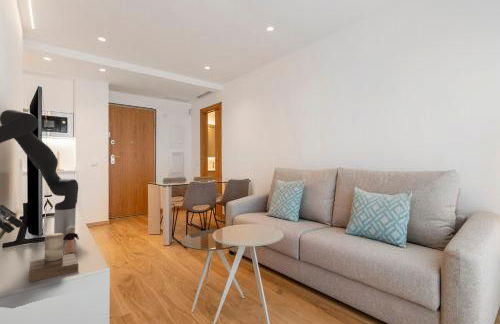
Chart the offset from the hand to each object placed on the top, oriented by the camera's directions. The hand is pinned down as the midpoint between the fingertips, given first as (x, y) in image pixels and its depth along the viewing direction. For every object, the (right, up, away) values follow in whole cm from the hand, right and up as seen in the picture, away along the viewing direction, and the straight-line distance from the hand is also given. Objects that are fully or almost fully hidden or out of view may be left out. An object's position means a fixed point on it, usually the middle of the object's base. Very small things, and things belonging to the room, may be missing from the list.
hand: (16, 228), depth 91 cm
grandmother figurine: (+3, -18, +24) cm, 30 cm away
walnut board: (+10, -18, +5) cm, 21 cm away
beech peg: (+10, -17, +5) cm, 20 cm away
